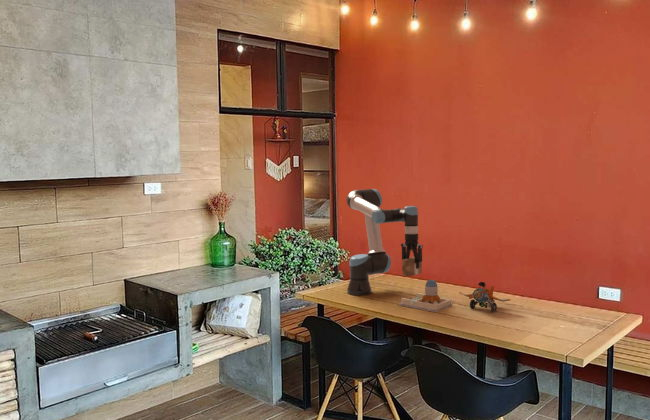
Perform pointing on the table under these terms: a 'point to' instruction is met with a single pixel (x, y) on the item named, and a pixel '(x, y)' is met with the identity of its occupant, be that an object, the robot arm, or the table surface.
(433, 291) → the toy rocket
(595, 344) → the table surface
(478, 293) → the toy airplane
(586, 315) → the table surface
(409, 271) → the wing block
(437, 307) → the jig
